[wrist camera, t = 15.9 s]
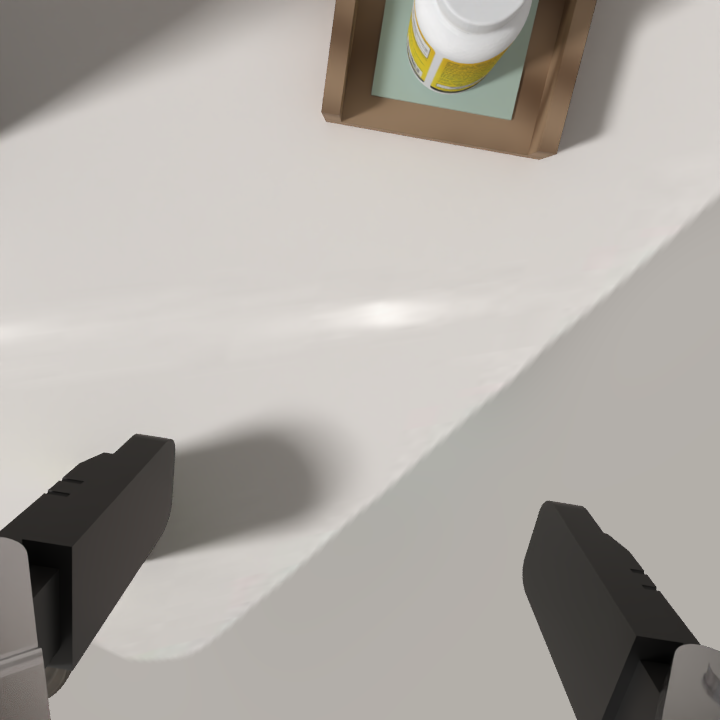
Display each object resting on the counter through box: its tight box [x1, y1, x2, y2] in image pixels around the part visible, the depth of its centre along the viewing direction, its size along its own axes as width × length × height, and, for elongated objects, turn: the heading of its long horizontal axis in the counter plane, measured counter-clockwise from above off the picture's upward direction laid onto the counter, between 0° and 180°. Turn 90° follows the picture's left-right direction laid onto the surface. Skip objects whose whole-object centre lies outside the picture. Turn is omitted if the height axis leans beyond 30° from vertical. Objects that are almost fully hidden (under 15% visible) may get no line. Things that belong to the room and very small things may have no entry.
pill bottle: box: [407, 0, 532, 95], centre depth 28 cm, size 6×6×11 cm
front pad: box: [371, 0, 539, 120], centre depth 33 cm, size 8×10×1 cm
